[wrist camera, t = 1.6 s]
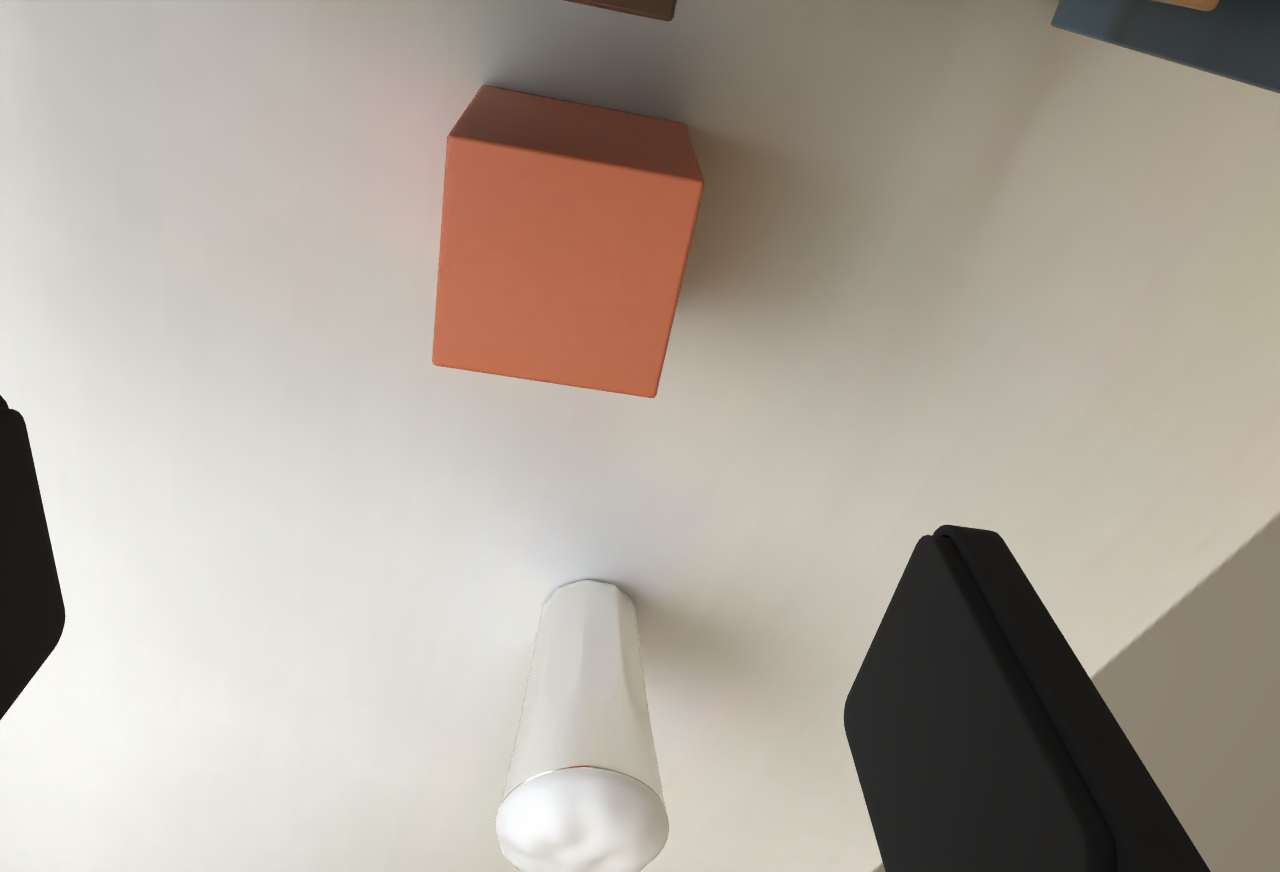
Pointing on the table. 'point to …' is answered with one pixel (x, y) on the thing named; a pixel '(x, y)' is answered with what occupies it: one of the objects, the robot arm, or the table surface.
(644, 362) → the block
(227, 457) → the table surface
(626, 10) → the cabinet
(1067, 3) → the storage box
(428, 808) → the table surface
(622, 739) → the milkshake
